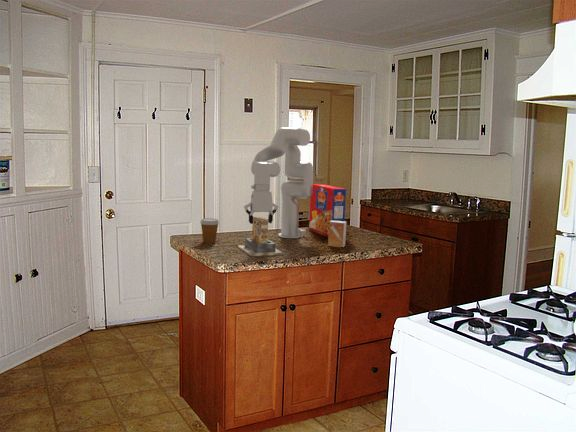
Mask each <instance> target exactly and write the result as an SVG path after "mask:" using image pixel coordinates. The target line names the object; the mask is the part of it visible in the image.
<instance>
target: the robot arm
mask: <svg viewBox="0 0 576 432" xmlns="http://www.w3.org/2000/svg"><path fill="white" fill-rule="evenodd" d="M310 141H311V134H310V132H309V130H307V129H305V128H300V127H284V126H283V127H279V128H278V129H277V130H276V132H275V133H274V136H273V138H272V140H271V142H270V144H269V145H267V147H264V148H263V149H261V150H260V151H259V152H258V153H256V154H255V156H254V158H253V161H252V162H251V168H250V172H251V174H252V175H254V180H253V185H250V187H251V189H252V191H251V198H250V202H249V203H247V204H246V205H244V206H243V208H244V211H245V212H246V214H247V215H248V223H249V224H251V225H253V217H254V216H253V215H254V213H268V215H267V216H268V217H267V219H268V224H273V221H274V219H273V217H274V215H275V213H276V212H277V211H278V209H279V205H277V204H276V203H273V194H272V190H270V185H271V184H270V183H271V182H270V181H271V178H276V177H278V176H279V174H280V172H281V165H280V164H279V163H278V162H276V161H270V160H274V159H277V158H280V157H282V156H284V174H285V175H284V176H286V177H287V178H289V180H285V181H283V182H282V183H281V187H280V190H281V191H280V192H281V200H282V201H281V203H282V204H281V205H282V207H281V227H280V228H281V229H280V232H279V233H278V234H277V235H278V237H280V238H283V239H299V238H301V237H302V235H301V234H307V230H306V229H300V228H299V218H300V204H299V202H298V200H297V199H301V200H302V199H303V200H304V199H305V200H306V199H307V200H309V199H310V198H311V196H312V191H313V184H314V165H313V164H312V162H309V161H302V160H301V155H302V153H301V150H300V147H298V146H301V147H305V146H308V144H309V143H311V142H310ZM290 179H302V180H303V181H302V180H290ZM249 207H250V210H249Z"/></svg>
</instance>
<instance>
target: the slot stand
mask: <svg viewBox="0 0 576 432" xmlns="http://www.w3.org/2000/svg"><path fill="white" fill-rule="evenodd" d="M276 246H277V245H276V243H275V242H274V241H272V240H270V239H268V242H267V243H265V244H256V243H255V242H253V241H252V237H246V238H244V245H243V244H242V245H240V244H239V245H238V246H237V248H238V249H240V250H241V251H242V252H244V253H245V254H247V255H248V257H261V256H263V257H264V256H265V257H266V256H282V255H283V252H282V251H281V250H279V249H278V248H276Z"/></svg>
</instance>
